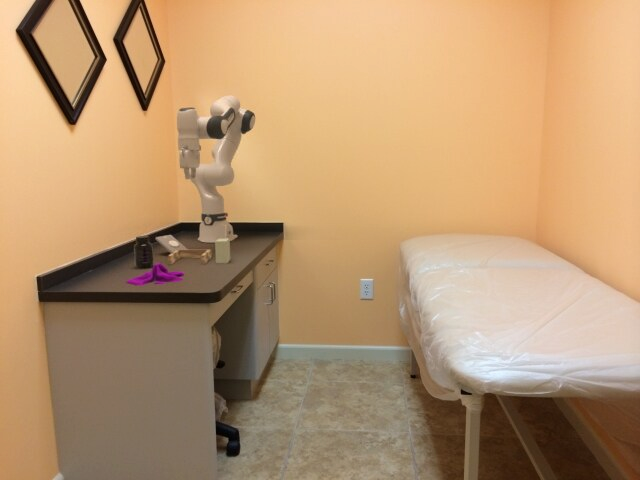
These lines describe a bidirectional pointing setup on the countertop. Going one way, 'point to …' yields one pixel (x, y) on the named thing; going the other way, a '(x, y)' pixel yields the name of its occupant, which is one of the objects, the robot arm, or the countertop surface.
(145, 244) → the supplement bottle
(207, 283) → the countertop surface
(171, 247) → the light switch
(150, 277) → the cloth
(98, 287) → the countertop surface
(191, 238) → the countertop surface
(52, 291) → the countertop surface
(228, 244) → the pale olive cuboid
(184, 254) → the wooden frame
